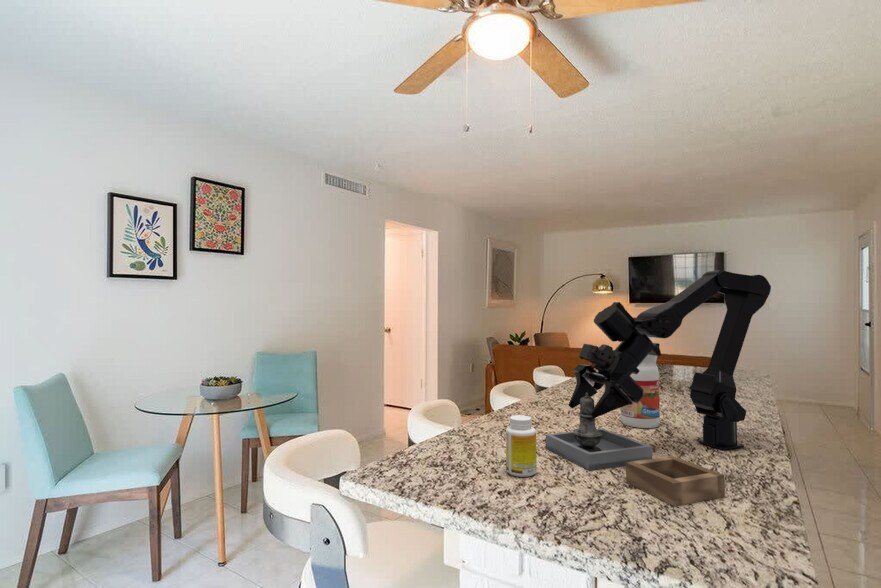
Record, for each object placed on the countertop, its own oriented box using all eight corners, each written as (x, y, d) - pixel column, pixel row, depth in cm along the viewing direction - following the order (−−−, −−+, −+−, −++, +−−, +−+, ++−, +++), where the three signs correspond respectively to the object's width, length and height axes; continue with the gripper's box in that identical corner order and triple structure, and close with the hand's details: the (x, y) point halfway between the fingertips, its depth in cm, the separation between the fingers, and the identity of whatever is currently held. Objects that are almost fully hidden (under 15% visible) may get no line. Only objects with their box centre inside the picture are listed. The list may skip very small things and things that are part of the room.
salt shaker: (593, 456, 93) (592, 396, 94) (567, 450, 98) (566, 392, 98) (608, 450, 97) (607, 392, 98) (582, 444, 102) (581, 388, 102)
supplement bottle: (542, 475, 86) (542, 419, 86) (517, 480, 84) (517, 422, 84) (524, 466, 91) (524, 413, 91) (500, 470, 89) (500, 416, 89)
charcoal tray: (602, 441, 107) (602, 428, 107) (652, 461, 93) (652, 446, 93) (545, 448, 102) (545, 434, 102) (589, 470, 88) (589, 454, 88)
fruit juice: (629, 418, 129) (627, 317, 130) (665, 424, 123) (663, 317, 124) (614, 424, 123) (613, 317, 124) (652, 431, 116) (649, 318, 117)
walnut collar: (672, 475, 86) (672, 455, 86) (724, 496, 76) (724, 474, 76) (626, 482, 82) (625, 462, 82) (674, 506, 72) (673, 483, 72)
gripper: (580, 328, 108) (536, 378, 106) (628, 332, 90) (576, 393, 87) (612, 361, 110) (569, 411, 107) (665, 372, 91) (615, 433, 89)
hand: (580, 411), depth 98 cm, fingers open, 9 cm apart
